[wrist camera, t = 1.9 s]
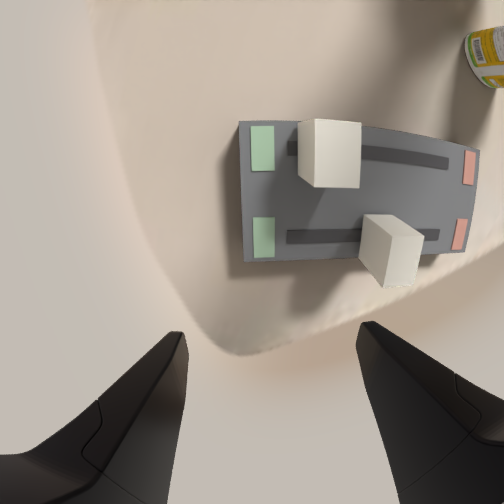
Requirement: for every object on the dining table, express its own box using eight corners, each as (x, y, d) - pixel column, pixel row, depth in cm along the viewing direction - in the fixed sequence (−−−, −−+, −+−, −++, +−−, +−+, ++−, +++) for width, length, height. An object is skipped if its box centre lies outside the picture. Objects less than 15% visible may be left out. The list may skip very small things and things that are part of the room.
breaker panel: (459, 145, 16) (480, 150, 13) (447, 240, 19) (465, 252, 16) (239, 123, 15) (238, 120, 13) (243, 245, 19) (243, 262, 16)
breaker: (334, 124, 13) (361, 122, 10) (333, 175, 14) (359, 188, 11) (297, 122, 13) (314, 118, 10) (297, 174, 14) (314, 187, 11)
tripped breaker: (392, 214, 15) (424, 236, 12) (385, 257, 16) (413, 285, 13) (363, 214, 15) (392, 236, 12) (358, 258, 16) (382, 288, 13)
